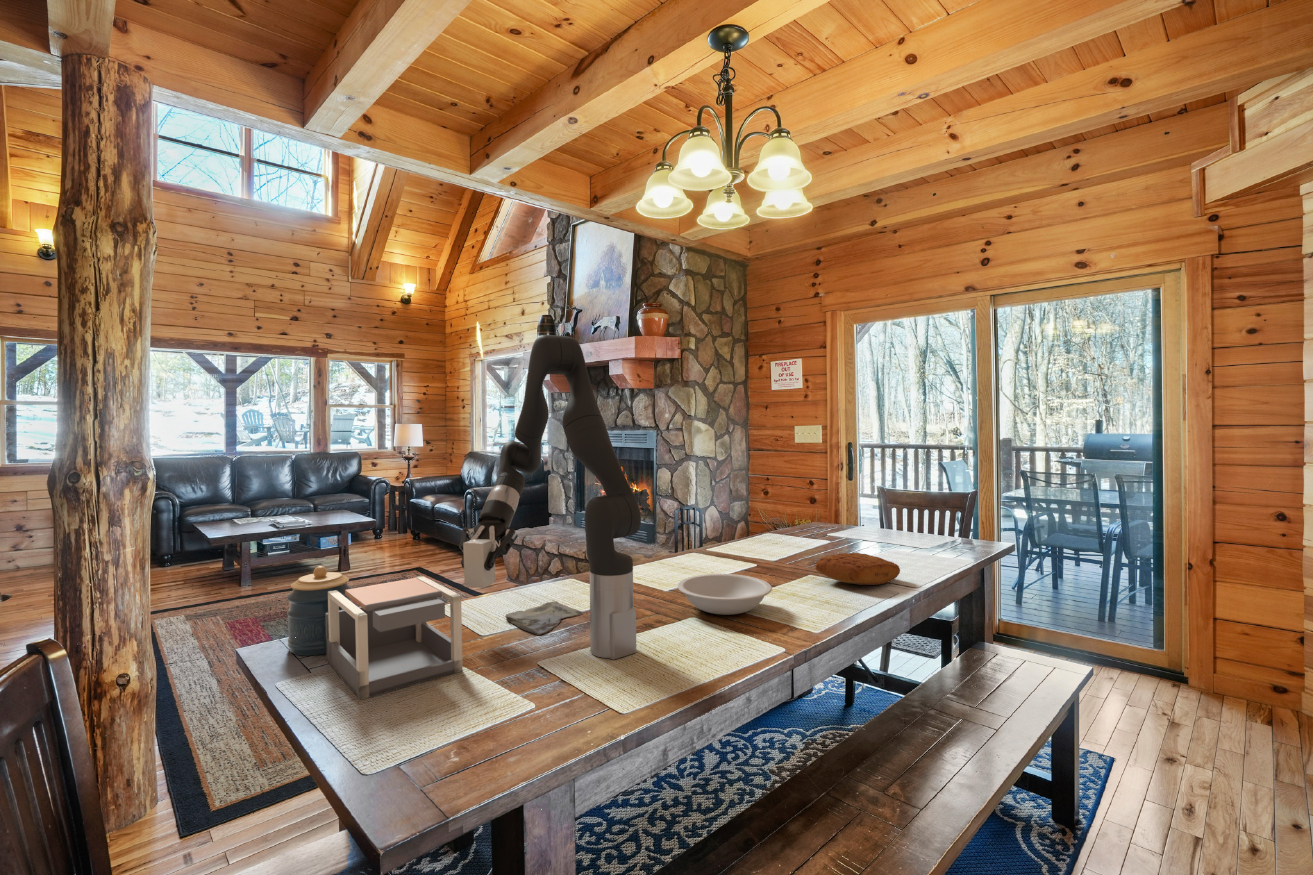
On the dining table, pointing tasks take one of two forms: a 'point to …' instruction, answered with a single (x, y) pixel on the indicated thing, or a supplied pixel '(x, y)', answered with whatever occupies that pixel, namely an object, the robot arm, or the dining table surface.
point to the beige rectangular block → (477, 563)
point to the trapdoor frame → (389, 647)
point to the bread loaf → (858, 568)
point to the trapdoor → (399, 603)
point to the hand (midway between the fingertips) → (475, 568)
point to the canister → (312, 610)
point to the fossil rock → (541, 617)
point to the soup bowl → (724, 592)
